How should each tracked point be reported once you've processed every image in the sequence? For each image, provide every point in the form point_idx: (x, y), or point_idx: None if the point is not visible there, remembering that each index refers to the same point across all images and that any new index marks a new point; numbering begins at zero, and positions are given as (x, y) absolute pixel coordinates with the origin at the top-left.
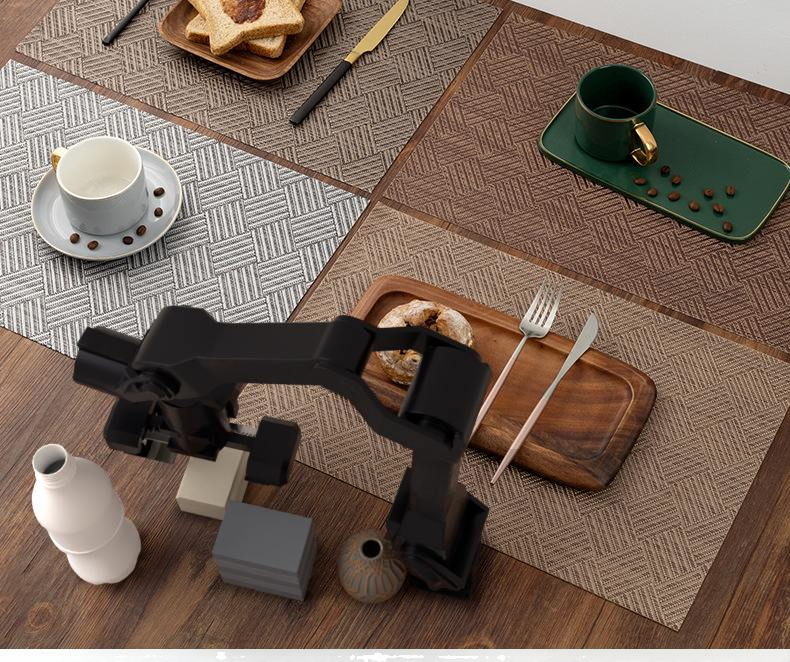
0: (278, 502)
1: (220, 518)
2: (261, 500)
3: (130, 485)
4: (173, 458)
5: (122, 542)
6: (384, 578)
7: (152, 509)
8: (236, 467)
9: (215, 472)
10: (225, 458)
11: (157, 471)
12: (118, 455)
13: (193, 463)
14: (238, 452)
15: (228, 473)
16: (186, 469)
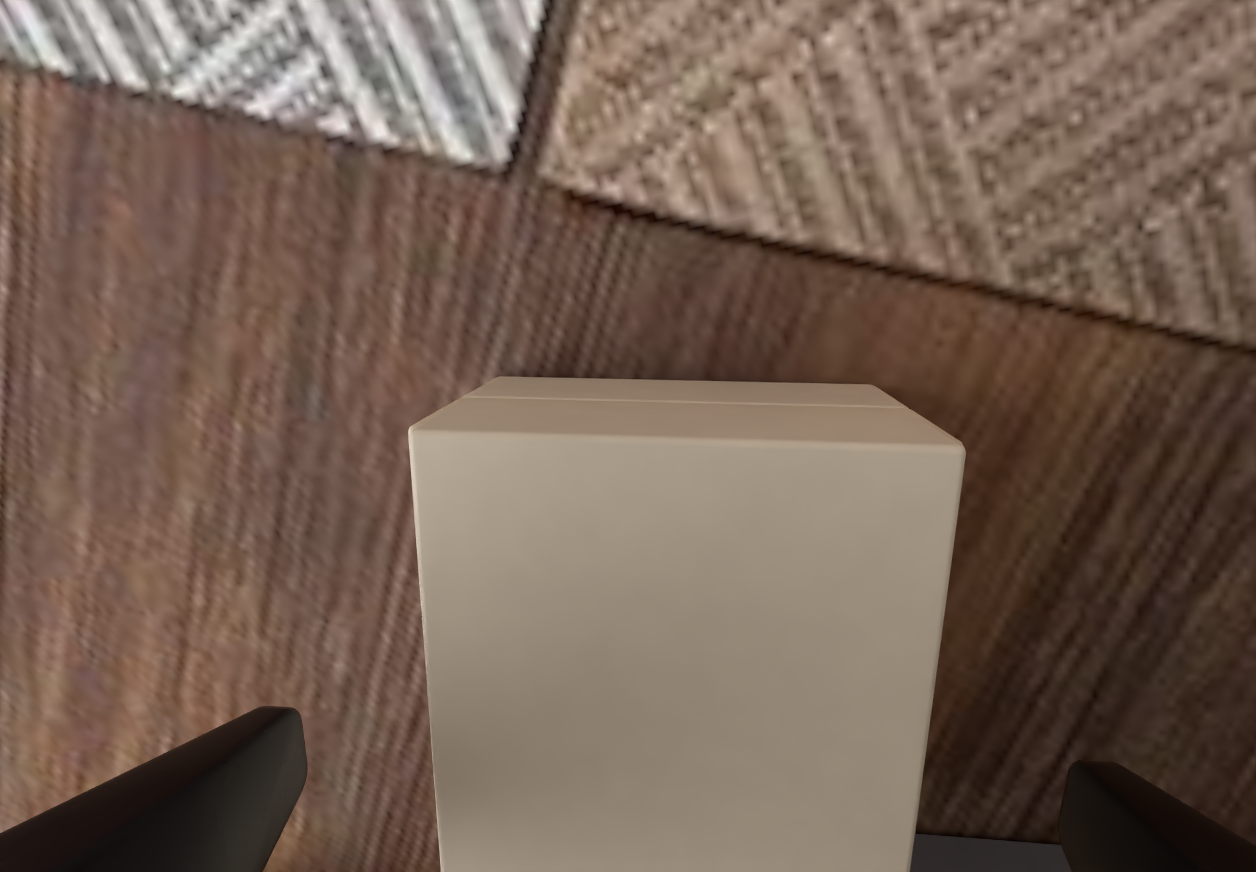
0: (1085, 640)
1: None
2: (969, 645)
3: (194, 679)
4: (267, 801)
5: None
6: None
7: (364, 779)
8: (911, 801)
9: (707, 867)
10: (766, 726)
11: (293, 581)
12: (43, 530)
13: (467, 810)
14: (893, 643)
15: (838, 856)
16: None
